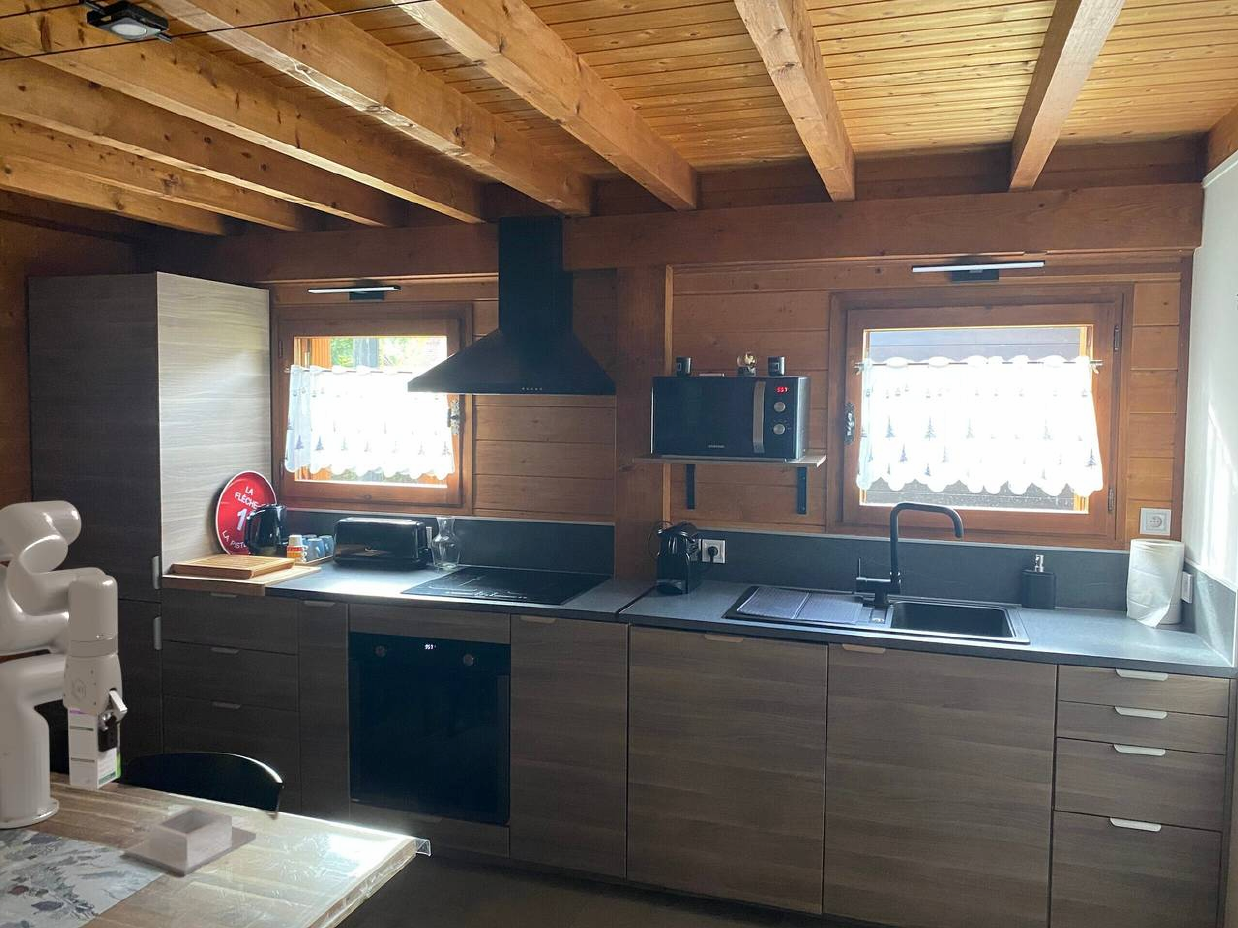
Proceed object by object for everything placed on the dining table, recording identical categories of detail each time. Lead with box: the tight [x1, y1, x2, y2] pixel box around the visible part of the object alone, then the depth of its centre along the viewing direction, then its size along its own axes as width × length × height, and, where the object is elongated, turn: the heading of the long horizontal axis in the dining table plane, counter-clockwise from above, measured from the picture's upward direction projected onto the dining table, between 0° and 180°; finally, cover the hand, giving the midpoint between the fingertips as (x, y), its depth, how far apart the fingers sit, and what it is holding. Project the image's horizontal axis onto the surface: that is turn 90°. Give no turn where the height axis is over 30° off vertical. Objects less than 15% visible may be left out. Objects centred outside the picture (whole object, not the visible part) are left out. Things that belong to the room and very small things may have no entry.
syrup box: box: [67, 706, 121, 790], centre depth 165 cm, size 6×6×14 cm
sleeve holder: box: [123, 804, 257, 877], centre depth 176 cm, size 16×16×5 cm
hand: (94, 744), depth 165 cm, fingers closed on syrup box, 6 cm apart
